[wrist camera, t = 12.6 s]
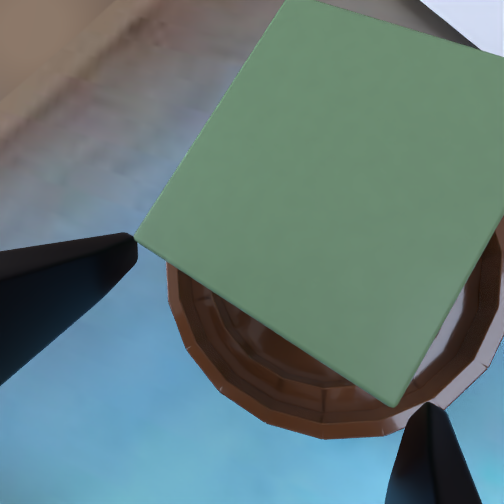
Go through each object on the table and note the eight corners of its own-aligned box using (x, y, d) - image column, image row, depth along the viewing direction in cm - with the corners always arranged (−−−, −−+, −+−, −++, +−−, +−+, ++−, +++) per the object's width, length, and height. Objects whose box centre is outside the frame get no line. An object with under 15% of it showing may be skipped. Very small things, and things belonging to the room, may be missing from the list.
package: (345, 349, 17) (396, 415, 5) (258, 294, 19) (127, 238, 6) (403, 250, 18) (585, 76, 5) (312, 204, 19) (288, -12, 7)
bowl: (393, 475, 16) (415, 526, 12) (154, 320, 20) (112, 319, 16) (521, 206, 17) (580, 171, 13) (270, 113, 22) (257, 66, 18)
